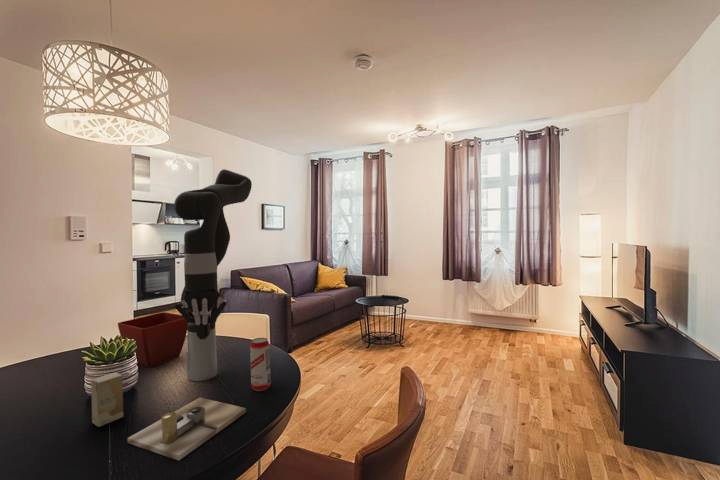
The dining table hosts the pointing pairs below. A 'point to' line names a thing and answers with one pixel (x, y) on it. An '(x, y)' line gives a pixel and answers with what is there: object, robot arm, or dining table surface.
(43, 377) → the dining table surface
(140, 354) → the plant pot
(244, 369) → the dining table surface
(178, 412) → the door board
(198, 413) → the latch arm
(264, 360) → the beer can
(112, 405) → the skincare box
